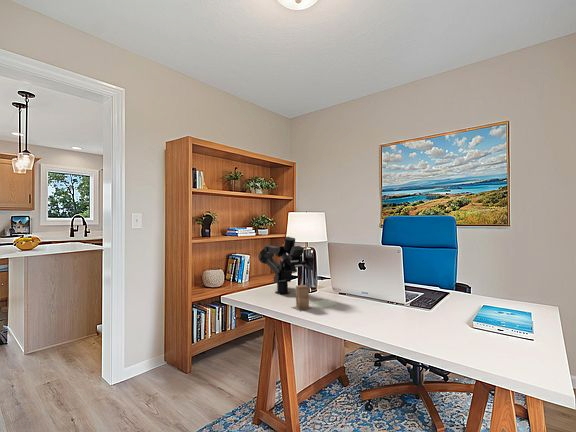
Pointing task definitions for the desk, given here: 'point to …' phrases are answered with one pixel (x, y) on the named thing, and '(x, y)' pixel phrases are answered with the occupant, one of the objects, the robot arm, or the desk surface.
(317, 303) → the sage plate
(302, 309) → the slate tile
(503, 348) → the desk surface
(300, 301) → the walnut block
